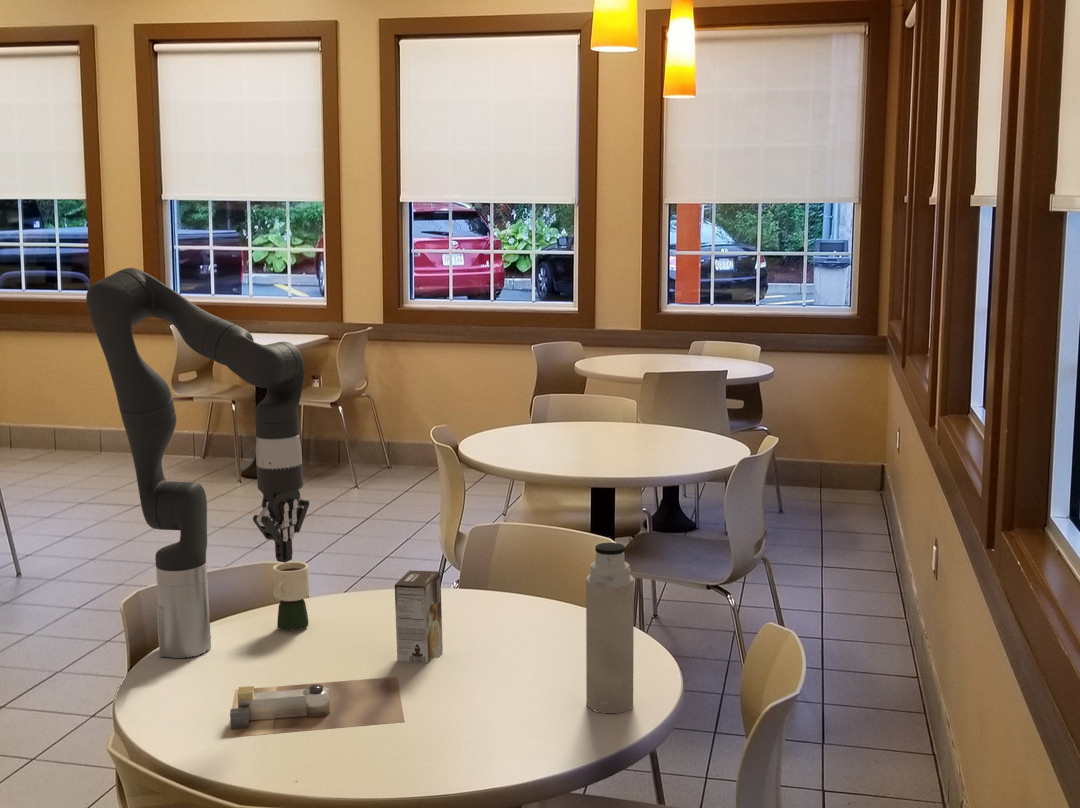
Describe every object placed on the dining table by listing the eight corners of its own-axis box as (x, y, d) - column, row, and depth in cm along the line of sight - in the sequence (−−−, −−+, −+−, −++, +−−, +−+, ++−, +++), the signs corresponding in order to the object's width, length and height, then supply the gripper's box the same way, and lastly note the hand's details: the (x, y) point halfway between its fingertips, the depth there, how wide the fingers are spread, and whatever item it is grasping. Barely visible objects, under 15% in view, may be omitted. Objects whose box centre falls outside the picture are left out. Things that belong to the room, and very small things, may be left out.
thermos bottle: (593, 692, 201) (593, 537, 196) (638, 697, 198) (639, 540, 194) (580, 710, 193) (580, 549, 189) (626, 716, 191) (627, 554, 186)
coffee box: (411, 649, 222) (409, 568, 219) (443, 651, 220) (441, 570, 218) (396, 667, 213) (393, 583, 210) (429, 669, 212) (427, 585, 209)
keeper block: (230, 729, 185) (230, 713, 184) (231, 725, 186) (230, 708, 186) (248, 728, 185) (248, 711, 185) (249, 723, 187) (248, 707, 186)
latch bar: (330, 705, 193) (329, 678, 192) (330, 716, 189) (329, 688, 188) (240, 712, 191) (239, 685, 190) (238, 723, 186) (236, 696, 186)
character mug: (291, 617, 240) (288, 557, 238) (321, 621, 238) (319, 560, 236) (263, 635, 230) (260, 572, 228) (294, 639, 227) (291, 576, 225)
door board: (227, 744, 182) (227, 737, 182) (236, 696, 200) (235, 689, 200) (404, 728, 187) (404, 721, 187) (397, 683, 206) (397, 676, 205)
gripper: (272, 472, 186) (278, 575, 189) (320, 455, 197) (325, 552, 200) (235, 468, 189) (241, 569, 192) (285, 452, 201) (290, 547, 204)
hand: (284, 560), depth 196 cm, fingers closed
